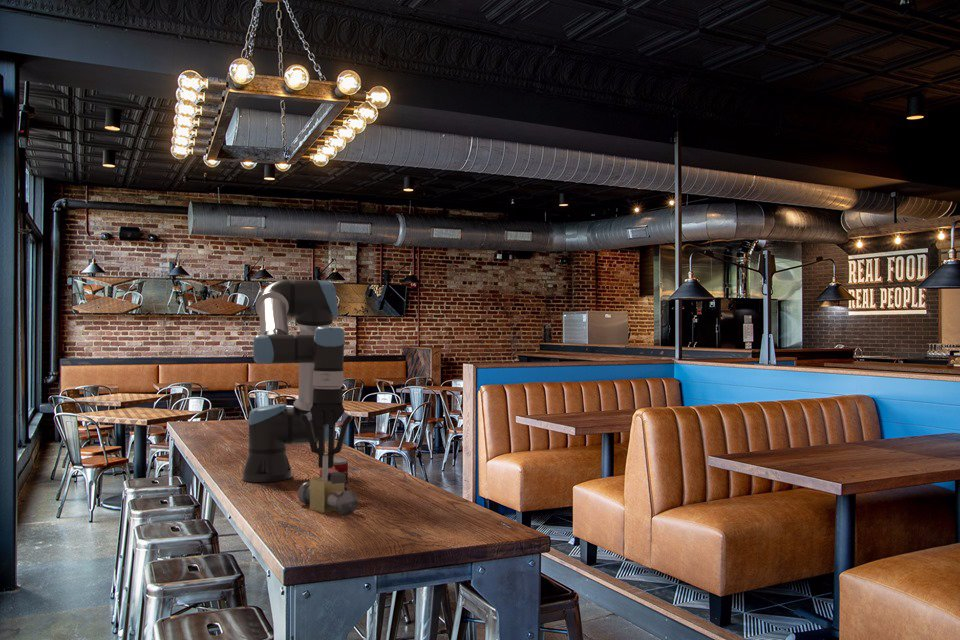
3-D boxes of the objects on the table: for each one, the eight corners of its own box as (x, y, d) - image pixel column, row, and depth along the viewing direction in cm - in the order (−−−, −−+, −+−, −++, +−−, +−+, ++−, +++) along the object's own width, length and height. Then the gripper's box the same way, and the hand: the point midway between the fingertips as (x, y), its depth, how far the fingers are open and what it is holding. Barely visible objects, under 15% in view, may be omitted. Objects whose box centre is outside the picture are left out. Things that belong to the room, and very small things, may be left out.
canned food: (334, 504, 202) (335, 463, 203) (313, 500, 207) (313, 460, 207) (353, 498, 209) (353, 459, 209) (332, 495, 213) (332, 457, 213)
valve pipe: (297, 505, 200) (297, 473, 201) (316, 501, 205) (317, 470, 205) (338, 517, 188) (338, 482, 188) (358, 512, 193) (358, 479, 193)
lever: (318, 474, 198) (318, 466, 198) (332, 473, 199) (332, 465, 199) (331, 484, 185) (331, 476, 185) (346, 482, 186) (346, 474, 187)
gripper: (299, 388, 185) (297, 483, 184) (351, 389, 185) (348, 484, 185) (305, 386, 192) (303, 477, 192) (355, 387, 193) (352, 478, 192)
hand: (325, 480), depth 188 cm, fingers closed
